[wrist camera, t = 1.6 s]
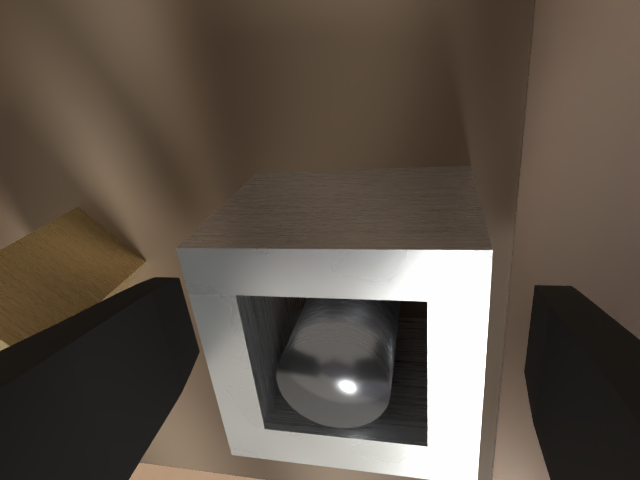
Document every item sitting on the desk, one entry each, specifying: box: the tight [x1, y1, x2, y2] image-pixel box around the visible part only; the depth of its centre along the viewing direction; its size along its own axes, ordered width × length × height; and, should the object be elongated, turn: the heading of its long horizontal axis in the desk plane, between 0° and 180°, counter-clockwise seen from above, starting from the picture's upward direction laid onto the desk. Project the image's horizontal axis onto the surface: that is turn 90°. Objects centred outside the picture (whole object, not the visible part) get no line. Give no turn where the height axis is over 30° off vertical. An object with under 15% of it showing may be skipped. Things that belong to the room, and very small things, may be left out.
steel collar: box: [176, 166, 493, 480], centre depth 10 cm, size 5×5×4 cm
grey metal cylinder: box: [276, 298, 400, 428], centre depth 10 cm, size 2×2×4 cm
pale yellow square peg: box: [0, 207, 146, 351], centre depth 12 cm, size 2×2×4 cm
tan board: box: [0, 0, 535, 480], centre depth 13 cm, size 15×18×1 cm
